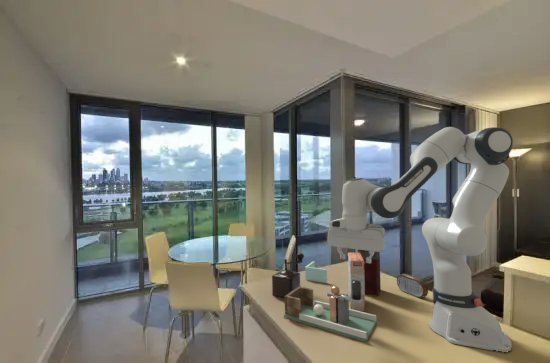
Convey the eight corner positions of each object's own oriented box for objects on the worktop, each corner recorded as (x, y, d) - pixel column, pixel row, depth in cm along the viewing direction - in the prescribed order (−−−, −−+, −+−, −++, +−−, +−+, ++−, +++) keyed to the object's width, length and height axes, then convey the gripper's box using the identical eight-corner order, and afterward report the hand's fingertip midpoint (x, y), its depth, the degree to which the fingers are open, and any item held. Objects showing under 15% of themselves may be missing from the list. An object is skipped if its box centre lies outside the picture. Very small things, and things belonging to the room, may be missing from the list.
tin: (428, 299, 120) (428, 280, 120) (424, 301, 118) (423, 281, 118) (400, 288, 133) (399, 271, 133) (395, 289, 132) (395, 272, 132)
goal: (313, 305, 114) (313, 289, 114) (299, 318, 103) (299, 299, 104) (299, 302, 117) (299, 286, 118) (284, 313, 107) (284, 296, 107)
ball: (325, 314, 106) (325, 303, 106) (321, 318, 103) (321, 307, 103) (316, 311, 108) (315, 301, 109) (311, 315, 105) (311, 305, 105)
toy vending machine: (357, 285, 137) (355, 231, 137) (380, 289, 132) (379, 232, 132) (353, 292, 129) (352, 234, 129) (378, 296, 124) (376, 235, 124)
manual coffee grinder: (292, 300, 122) (291, 260, 122) (271, 295, 128) (271, 257, 128) (306, 288, 136) (305, 252, 136) (287, 284, 141) (286, 250, 141)
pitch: (376, 323, 100) (375, 295, 100) (366, 342, 89) (365, 310, 89) (300, 303, 118) (300, 280, 118) (283, 317, 106) (283, 290, 107)
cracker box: (366, 312, 109) (364, 260, 109) (350, 311, 110) (349, 260, 110) (362, 298, 123) (360, 252, 123) (348, 297, 124) (347, 251, 124)
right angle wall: (326, 284, 142) (326, 269, 142) (305, 280, 148) (305, 267, 148) (333, 277, 152) (332, 263, 152) (313, 274, 158) (312, 261, 158)
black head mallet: (365, 321, 99) (364, 280, 99) (360, 329, 94) (359, 285, 94) (331, 313, 106) (330, 274, 106) (325, 319, 101) (324, 278, 101)
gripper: (386, 223, 94) (387, 263, 94) (331, 220, 106) (332, 255, 106) (382, 226, 89) (383, 267, 89) (325, 222, 101) (325, 258, 101)
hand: (355, 260), depth 98 cm, fingers open, 8 cm apart
